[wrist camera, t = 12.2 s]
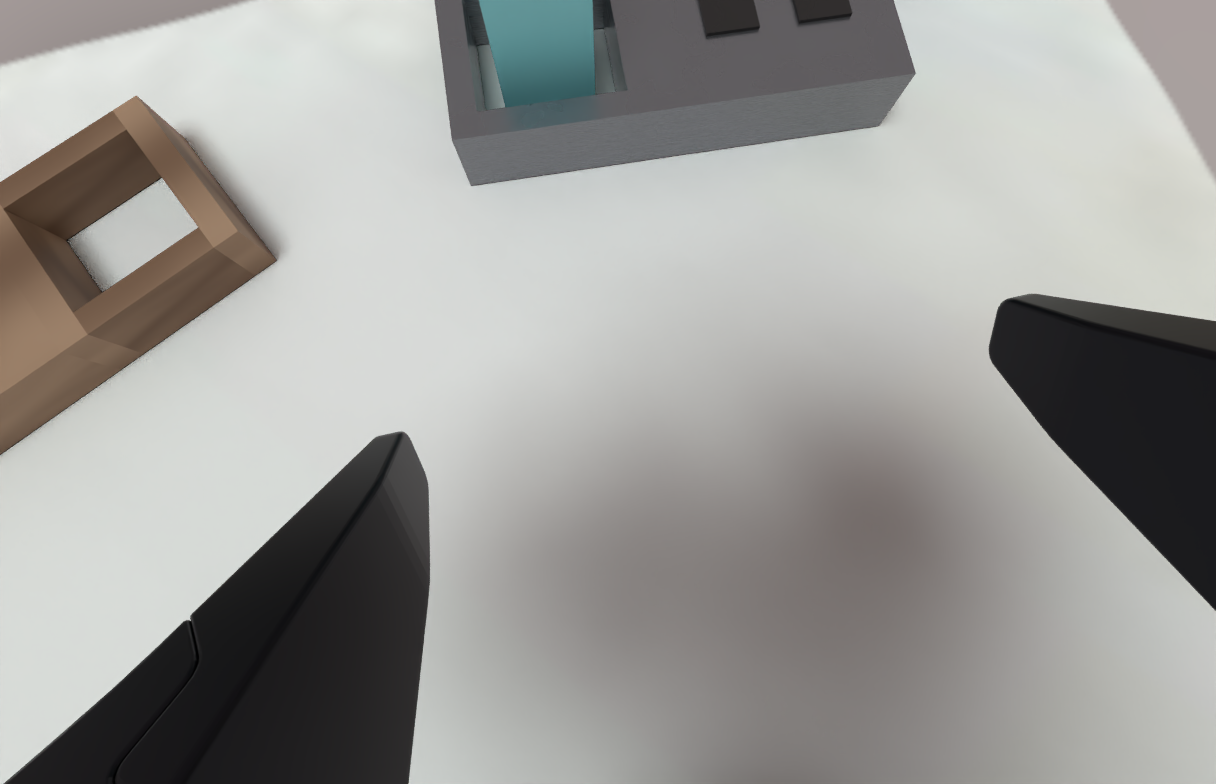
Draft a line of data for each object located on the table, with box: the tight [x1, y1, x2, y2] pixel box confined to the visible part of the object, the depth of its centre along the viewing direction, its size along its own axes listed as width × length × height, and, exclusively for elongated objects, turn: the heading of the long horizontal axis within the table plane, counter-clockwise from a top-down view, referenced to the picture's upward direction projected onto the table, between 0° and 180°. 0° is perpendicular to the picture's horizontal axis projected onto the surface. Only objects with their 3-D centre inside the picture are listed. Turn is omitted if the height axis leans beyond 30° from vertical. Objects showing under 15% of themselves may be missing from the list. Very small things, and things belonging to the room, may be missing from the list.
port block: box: [435, 0, 916, 186], centre depth 24 cm, size 8×17×3 cm, turn 99°
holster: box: [0, 96, 277, 454], centre depth 21 cm, size 7×16×4 cm, turn 129°
